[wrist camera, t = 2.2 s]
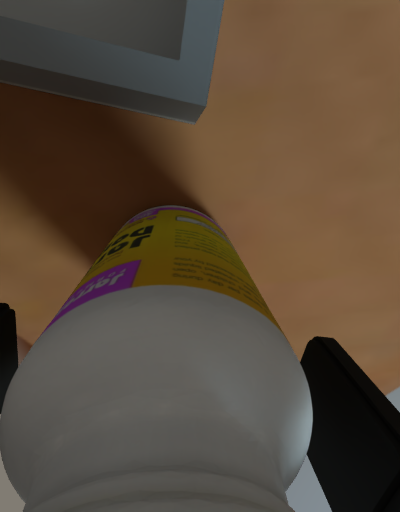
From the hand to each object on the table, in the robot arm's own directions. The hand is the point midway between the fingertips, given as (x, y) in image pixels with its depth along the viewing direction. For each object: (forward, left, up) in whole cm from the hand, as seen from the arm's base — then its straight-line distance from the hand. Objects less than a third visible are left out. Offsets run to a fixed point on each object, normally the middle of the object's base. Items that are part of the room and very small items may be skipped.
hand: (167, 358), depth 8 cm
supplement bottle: (-1, 0, -7) cm, 7 cm away
